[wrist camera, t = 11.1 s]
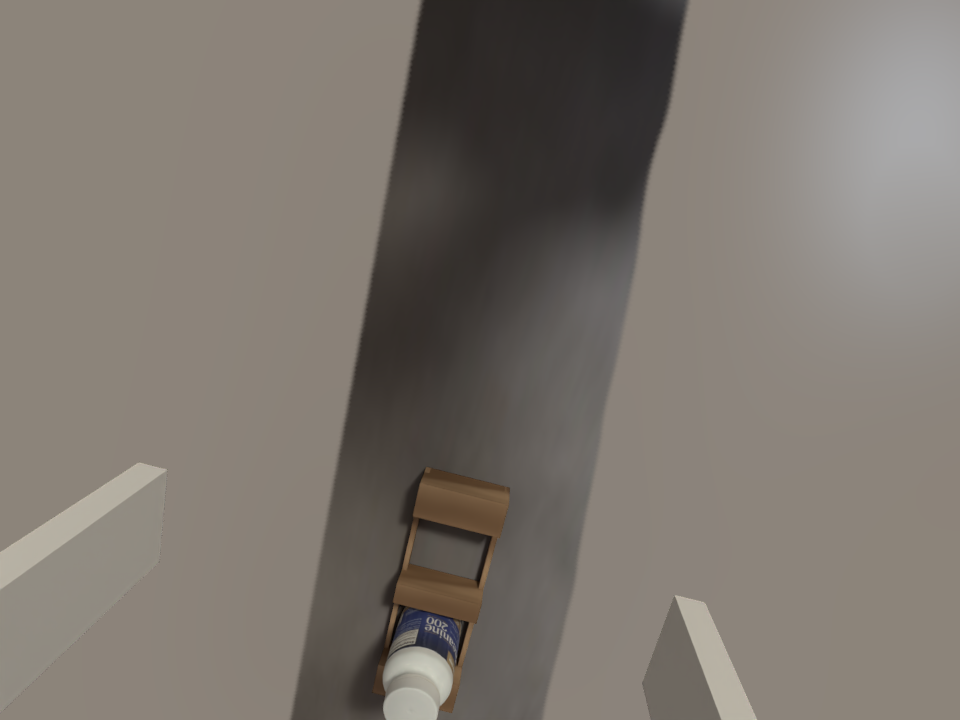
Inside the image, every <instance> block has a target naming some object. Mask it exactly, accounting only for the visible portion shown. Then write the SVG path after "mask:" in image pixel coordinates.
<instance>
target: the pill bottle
mask: <svg viewBox="0 0 960 720" xmlns="http://www.w3.org/2000/svg"><path fill="white" fill-rule="evenodd" d="M460 633H461V620H459V619H455V618H451V617H447V616H443V615H439V614H436V613H432V612H428V611H424V610H420V609H416V608H412V607H408V606H406V607H405V608H404V610H403V612H402V614H401V617H400V620H399V623H398V626H397V629H396V633H395V636H394V639H393V642H392V645H391V648H390V651H389V655H388V657H387V661H386V664H385V667H384V671H383V686H384V689H385V692H386V694H385V699H384V704H383V712H384V716H385V718H386V720H436V719H437V716H438V711H439V707H440V706H441V705H442V704H443V703H444V702H445V701H446V699H447V698H448V696H449V694H450V692H451V689H452V684H453V679H454V671H455V665H456V659H457V652H458V646H459V639H460Z"/></svg>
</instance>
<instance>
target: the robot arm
mask: <svg viewBox="0 0 960 720" xmlns="http://www.w3.org/2000/svg"><path fill="white" fill-rule="evenodd" d="M167 472H168V470H167V469H164V468H160V467H155V466H151V465H147V464H143V463H137V464H135V465H134V466H132V467H131V468H129V469H128V470H126V471H125V472H123V473H122V474H120V475H118V476H117V477H115V478H114V479H112V480H111V481H109V482H108V483H106V484H105V485H103V486H102V487H100V488H98V489H97V490H95V491H94V492H92V493H91V494H89V495H88V496H86V497H84V498H83V499H81V500H80V501H78V502H77V503H75V504H74V505H72V506H71V507H69V508H67V509H66V510H64V511H63V512H61V513H60V514H58V515H57V516H55V517H54V518H52V519H51V520H49V521H47V522H46V523H44V524H43V525H41V526H40V527H38V528H37V529H35V530H33V531H32V532H30V533H29V534H27V535H26V536H24V537H23V538H21V539H20V540H18V541H16V542H15V543H13V544H12V545H10V546H9V547H7V548H6V549H4V550H3V551H1V552H0V713H1V712H2V711H3V710H4V709H5V708H6V707H7V706H8V705H9V704H11V703H12V701H14V700H15V699H16V698H17V697H18V696H19V695H20V694H21V693H22V692H23V691H24V690H25V689H26V688H27V687H28V686H30V685H31V683H33V682H34V681H35V680H36V679H37V678H38V677H39V676H40V675H41V674H42V673H43V672H44V671H45V670H46V669H47V668H48V667H49V666H50V665H52V664H53V662H55V661H56V660H57V659H58V658H59V657H60V656H61V655H62V654H63V653H64V652H65V651H66V650H67V649H68V648H69V647H71V646H72V645H73V644H74V643H75V642H76V641H77V640H78V639H79V638H80V637H81V636H82V635H83V634H84V633H85V632H86V631H87V630H88V629H89V628H90V627H92V626H93V625H94V624H95V623H96V622H97V621H98V620H99V619H100V618H101V617H102V616H103V615H104V614H105V613H106V612H107V611H108V610H109V609H110V608H111V607H113V605H115V604H116V603H117V602H118V601H119V600H120V599H121V598H122V597H123V596H124V595H125V594H126V593H127V592H128V591H129V590H130V589H131V588H132V587H134V586H135V585H136V584H137V583H138V582H139V581H140V580H141V579H142V578H143V577H144V576H145V575H146V574H147V573H148V572H149V571H150V570H151V569H152V568H154V567H155V566H156V565H157V564H158V563H159V560H160V550H161V539H162V528H163V516H164V505H165V494H166V483H167ZM642 684H643V689H644V693H645V697H646V701H647V706H648V710H649V714H650V718H651V720H757V719H756V716H755V714H754V712H753V710H752V707H751V705H750V703H749V701H748V699H747V697H746V694H745V692H744V689H743V687H742V685H741V683H740V681H739V678H738V676H737V674H736V672H735V669H734V667H733V665H732V663H731V660H730V658H729V656H728V653H727V651H726V649H725V647H724V645H723V642H722V640H721V638H720V636H719V633H718V631H717V629H716V627H715V624H714V622H713V620H712V618H711V615H710V613H709V611H708V609H707V606H706V604H705V603H704V602H700V601H697V600H692V599H689V598H684V597H680V596H676V595H675V596H674V598H673V601H672V603H671V606H670V609H669V612H668V614H667V617H666V620H665V623H664V625H663V628H662V631H661V634H660V637H659V639H658V642H657V644H656V647H655V650H654V653H653V655H652V658H651V661H650V663H649V666H648V669H647V672H646V674H645V677H644V680H643V682H642Z"/></svg>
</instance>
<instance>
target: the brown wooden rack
mask: <svg viewBox="0 0 960 720" xmlns="http://www.w3.org/2000/svg"><path fill="white" fill-rule="evenodd" d="M509 492H510V488H508V487H504V486H500V485H496V484H492V483H488V482H484V481H480V480H476V479H473V478H469V477H465V476H461V475H457V474H453V473H449V472H445V471H441V470H437V469H433V468H429V467H426V469H425V472H424V474H423V477H422V479H421V482H420V486H419V490H418V494H417V499H416V503H415V507H414V512H413V516H414V519H413V524H412V528H411V532H410V537H409V541H408V545H407V550H406V554H405V558H404V563H403V567H402V571H401V574H400V576H399V579H398V582H397V586H396V590H395V594H394V599H393V603H394V606H393V611H392V615H391V619H390V624H389V628H388V632H387V637H386V641H385V645H384V649H383V652H382V655H381V658H380V661H379V664H378V669H377V673H376V677H375V682H374V686H373V690H372V693H376V694H380V695H383V696H385V694H386V692H385V689H384V686H383V671H384V667H385V664H386V661H387V657H388V655H389V651H390V648H391V645H392V642H393V641H391V638H392V634H393V630H394V626H395V621H396V617H397V613H398V608H399V604H400V605H404V606H408V607H412V608H416V609H420V610H424V611H428V612H432V613H436V614H439V615H443V616H447V617H451V618H455V619H459V620H463V621H467V622H468V626H467V629H466V633H465V637H464V640H463V644H462V648H461V651H460V655H459V658H457V659H456V665H455V671H454V679H453V684H452V689H451V692H450V694H449V696H448V698H447V699H446V701H445V702H444V703H443V704H442V705H441V706H440V707H439V710H442V711H446V712H449V713H452V711H453V707H454V703H455V700H456V696H457V693H458V689H459V685H460V678H461V670H462V665H463V662H464V658H465V654H466V651H467V647H468V643H469V640H470V636H471V632H472V629H473V625H474V623H475V624H476V623H477V620H478V616H479V612H480V609H481V604H482V595H483V588H484V585H485V581H486V577H487V574H488V570H489V566H490V563H491V559H492V555H493V552H494V548H495V544H496V541H497V538H500V536H501V532H502V528H503V525H504V521H505V517H506V514H507V510H508V506H509ZM419 518H422V519H426V520H430V521H433V522H437V523H441V524H445V525H449V526H453V527H457V528H461V529H465V530H469V531H473V532H477V533H481V534H485V535H489V536H492V537H491V540H490V544H489V548H488V551H487V555H486V559H485V562H484V566H483V570H482V574H481V577H480V581H475V580H471V579H467V578H463V577H459V576H456V575H452V574H448V573H444V572H440V571H436V570H432V569H428V568H424V567H420V566H416V565H412V564H409V561H410V557H411V553H412V548H413V544H414V540H415V535H416V531H417V527H418V523H419Z"/></svg>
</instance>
